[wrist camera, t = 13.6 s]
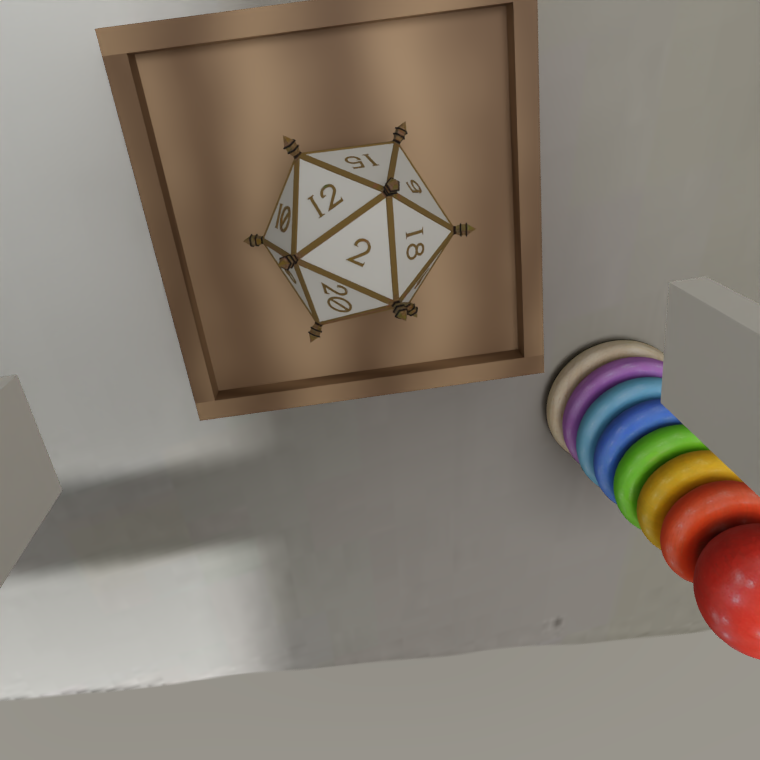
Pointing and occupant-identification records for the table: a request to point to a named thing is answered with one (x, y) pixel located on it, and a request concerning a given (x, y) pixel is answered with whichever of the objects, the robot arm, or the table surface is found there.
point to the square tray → (327, 131)
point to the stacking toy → (664, 481)
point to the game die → (356, 230)
